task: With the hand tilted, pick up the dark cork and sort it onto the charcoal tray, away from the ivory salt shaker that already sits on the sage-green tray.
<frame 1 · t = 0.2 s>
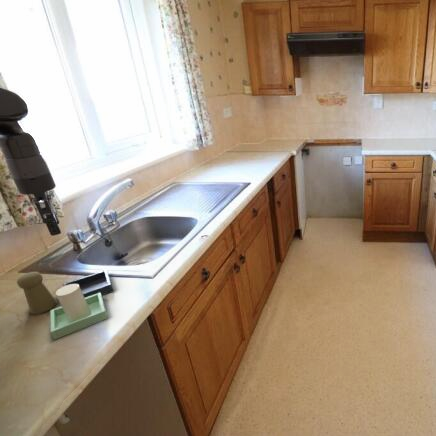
hand: (55, 229, 90), 21 cm above the counter, tool pointing down, fingers open, 8 cm apart
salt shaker: (80, 316, 87), resting on light tray
light tray: (80, 317, 87), on the counter
cork: (44, 307, 92), on the counter
dark tray: (89, 290, 98), on the counter
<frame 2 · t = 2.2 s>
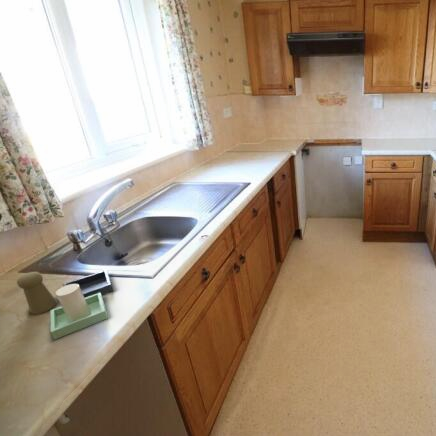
nothing on the counter moved.
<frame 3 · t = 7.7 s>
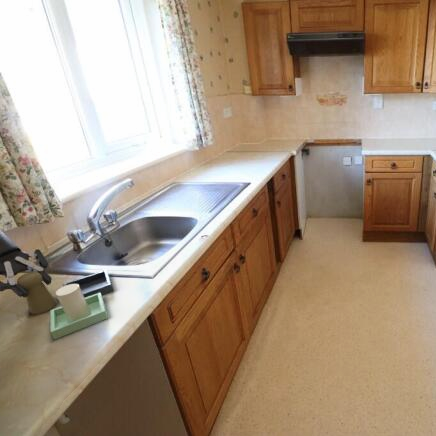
hand: (38, 289, 89), 7 cm above the counter, tool tilted 45°, fingers closed on cork, 5 cm apart
cork: (44, 307, 92), on the counter, touching gripper
everything else where it was.
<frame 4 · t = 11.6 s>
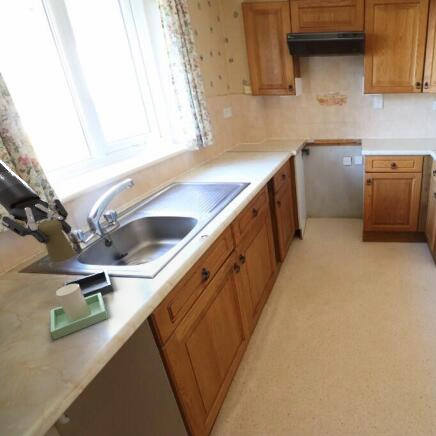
hand: (58, 236, 88), 20 cm above the counter, tool tilted 45°, fingers closed on cork, 5 cm apart
cork: (63, 257, 92), point 13 cm above the counter, touching gripper
everything else where it was.
when the fingers open (7 cm above the counter, at t = 15.6 s): cork stays where it is, resting on dark tray.
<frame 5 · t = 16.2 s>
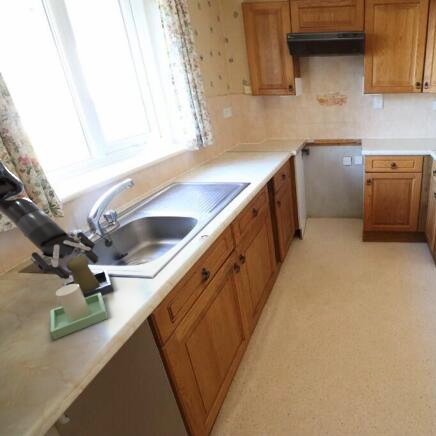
hand: (82, 269, 95), 8 cm above the counter, tool tilted 45°, fingers open, 8 cm apart
cork: (88, 289, 98), resting on dark tray
everything else where it was.
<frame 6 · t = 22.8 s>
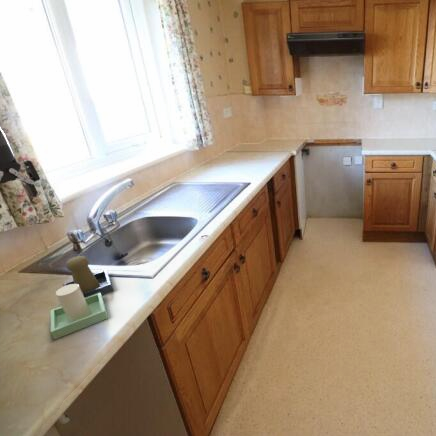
hand: (16, 202, 91), 28 cm above the counter, tool pointing down, fingers open, 8 cm apart
nothing on the counter moved.
at the end: cork inside the target area in the dark tray (0.1 cm from its centre), point 0.3 cm above the dark tray's base; cork tilted 0°; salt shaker inside the target area in the light tray (0.0 cm from its centre), point 0.5 cm above the light tray's base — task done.
